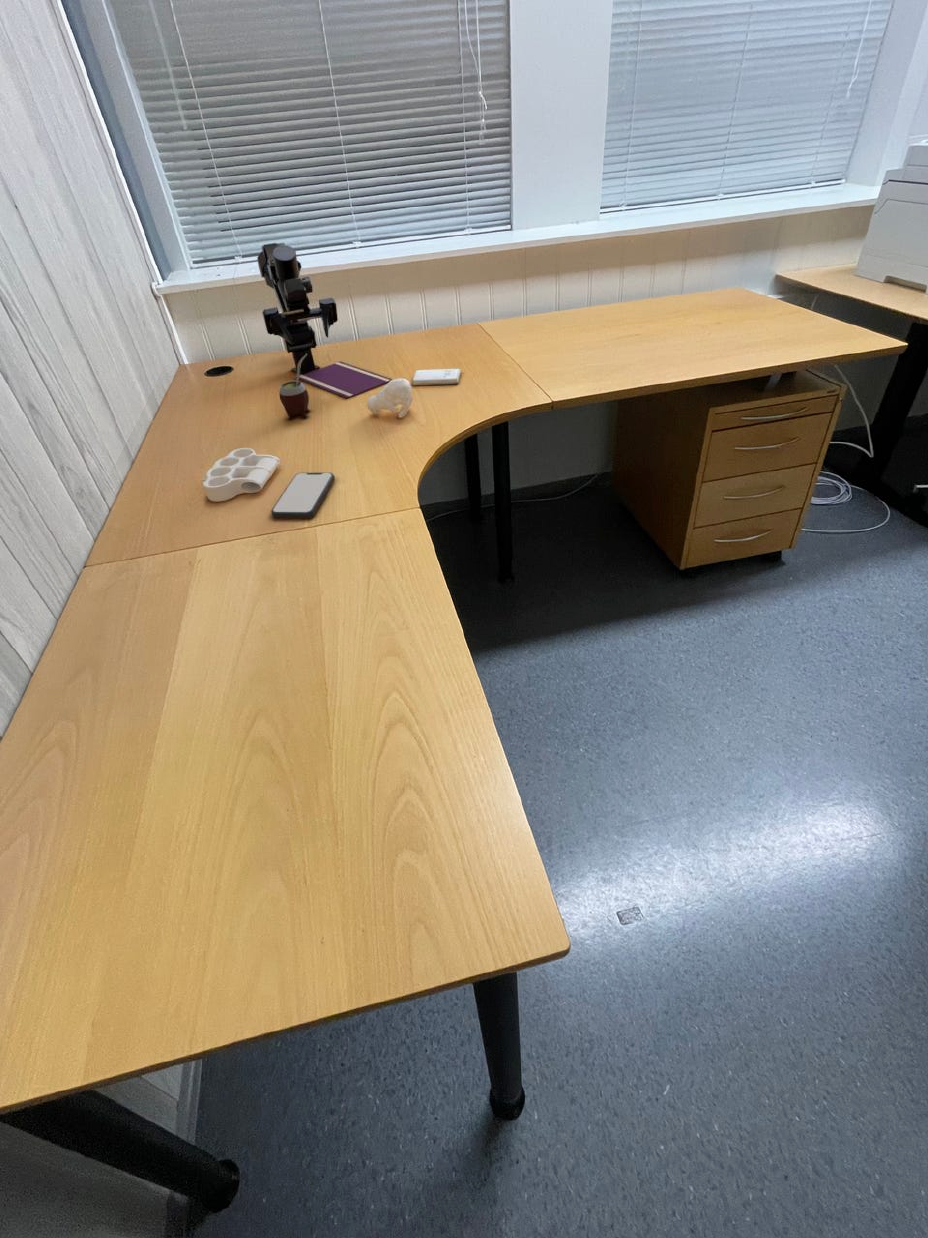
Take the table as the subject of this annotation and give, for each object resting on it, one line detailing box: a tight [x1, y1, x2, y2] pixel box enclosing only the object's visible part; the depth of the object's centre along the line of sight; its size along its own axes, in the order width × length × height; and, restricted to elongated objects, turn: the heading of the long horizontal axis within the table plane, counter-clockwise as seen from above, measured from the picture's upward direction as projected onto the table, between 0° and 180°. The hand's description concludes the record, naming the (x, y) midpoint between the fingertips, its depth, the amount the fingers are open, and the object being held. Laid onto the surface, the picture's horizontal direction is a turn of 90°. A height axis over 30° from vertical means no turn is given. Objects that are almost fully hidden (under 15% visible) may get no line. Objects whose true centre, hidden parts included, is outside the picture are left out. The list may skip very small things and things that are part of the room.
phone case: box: [271, 472, 335, 520], centre depth 123 cm, size 9×2×16 cm
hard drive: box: [412, 368, 461, 386], centre depth 168 cm, size 2×8×12 cm
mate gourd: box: [278, 354, 310, 421], centre depth 151 cm, size 8×8×15 cm
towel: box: [295, 361, 394, 400], centre depth 174 cm, size 26×16×1 cm, turn 44°
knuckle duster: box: [201, 447, 281, 503], centre depth 130 cm, size 3×18×15 cm
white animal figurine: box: [366, 378, 413, 419], centre depth 150 cm, size 6×8×12 cm
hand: (309, 339), depth 154 cm, fingers open, 9 cm apart
